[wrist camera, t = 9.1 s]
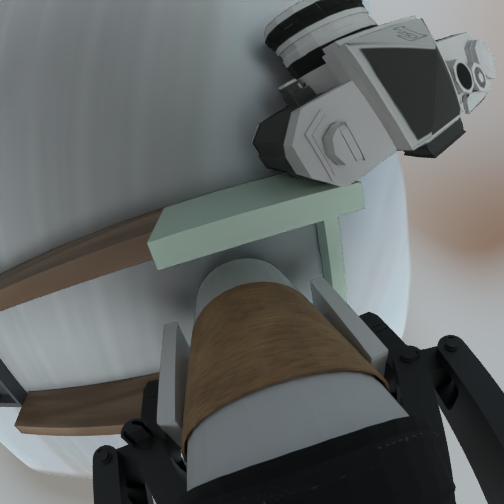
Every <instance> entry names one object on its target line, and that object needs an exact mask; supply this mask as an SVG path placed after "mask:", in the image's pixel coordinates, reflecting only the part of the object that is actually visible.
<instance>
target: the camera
mask: <svg viewBox="0 0 504 504" xmlns="http://www.w3.org/2000/svg"><path fill="white" fill-rule="evenodd" d="M264 34H265V38H266V41H265V43H266V45H267V46H268V47H269V48H272V49H273V50H274V51H275V53H276V54H277V55H278V56H280V57H282V58H283V63H284V65H285V66H286V67H287V69H288V70H289V72H290V73H291V75H292V76H293V77H294V79H293V80H291V81H289V82H287V83H285V84H284V85H282V86H281V87H279V89H280V90H279V91H280V92H281V93H282V95H283V96H284V99H285V101H286V102H287V104H288V106H287V107H285V108H284V109H282V110H280V111H279V112H277V113H275V114H274V115H272V116H271V117H269V118H267V119H266V120H264V121H262V122H260V123H259V124H257V127H256V130H255V133H254V135H253V138H252V141H251V145H252V146H253V148H254V149H255V151H256V152H257V154H258V155H259V158H260V159H261V160H262V162H263V163H264V165H265V166H266V168H269V169H274V170H279V171H284V172H289V173H290V174H291V175H292V176H295V177H299V178H303V179H307V180H311V181H315V182H319V183H323V184H327V183H330V184H334V185H337V186H341V187H344V188H346V187H347V186H349V185H350V184H352V183H353V182H355V181H356V180H358V179H359V178H360V177H362V176H363V175H364V174H366V173H367V172H369V171H370V170H371V169H373V168H374V167H375V166H377V165H378V164H380V163H381V162H382V161H384V160H385V159H386V158H388V157H389V156H391V155H392V154H393V153H395V152H396V151H401V150H402V151H404V152H405V154H404V155H407V156H414V157H424V158H425V157H427V158H436V157H437V156H438V155H439V154H441V153H442V152H443V151H444V150H446V149H447V148H448V147H449V146H450V145H451V144H453V143H454V142H455V141H456V140H457V139H458V138H460V137H461V136H462V135H463V134H464V133H465V132H466V131H464V130H463V124H462V121H461V118H460V116H461V115H462V113H463V110H462V107H461V103H462V102H463V105H464V109H465V113H466V114H469V113H470V112H471V111H472V110H473V109H474V108H475V107H477V106H478V105H479V103H481V102H482V100H483V99H484V98H485V96H486V94H487V92H488V91H489V89H490V86H491V79H494V78H495V74H496V66H495V62H494V59H493V55H492V54H491V52H490V51H489V49H488V47H487V46H486V44H485V43H483V42H481V41H479V40H475V39H474V38H473V37H472V36H470V34H469V33H467V32H465V33H461V34H456V35H451V36H449V37H445V38H443V39H439V40H434V38H433V36H432V35H431V33H430V31H429V29H428V27H427V26H426V24H425V22H424V21H423V19H422V18H421V19H416V17H415V16H410V17H407V18H403V19H400V20H396V21H393V22H389V23H386V24H382V25H379V26H378V25H377V24H376V22H375V21H374V19H372V18H370V17H369V16H368V11H367V10H366V8H365V7H364V6H363V4H362V0H303V1H301V2H299V3H297V4H295V5H293V6H291V7H290V8H288V9H287V10H285V11H284V12H283V13H281V14H280V15H278V16H277V17H276V18H274V20H273V21H272V22H271V23H270V24H269V25H268V26H267V27H266V29H265V33H264Z"/></svg>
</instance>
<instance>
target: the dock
mask: <svg viewBox="0 0 504 504" xmlns="http://www.w3.org/2000/svg"><path fill="white" fill-rule="evenodd" d="M362 209H365V206H364V197H363V189H362V182H360V181H355V182H353V183H352V184H350V185H349V186H347V187H346V188H344V187H341V186H337V185H334V184H330V183H327V184H323V183H319V182H315V181H311V180H307V179H303V178H299V177H295V176H292V175H291V174H290V173H289V172H288V173H284V174H280V175H275V176H272V177H268V178H264V179H260V180H256V181H252V182H249V183H245V184H241V185H238V186H234V187H230V188H227V189H223V190H220V191H217V192H213V193H210V194H206V195H203V196H200V197H197V198H193V199H190V200H187V201H184V202H181V203H177V204H174V205H171V206H168V207H165V208H164V209H163V211H162V213H161V215H160V217H159V219H158V221H157V223H156V225H155V227H154V229H153V232H152V234H151V236H150V238H149V240H148V242H147V244H148V247H149V249H150V252H151V255H152V257H153V260H154V262H155V265H156V267H157V270H161V269H164V268H168V267H171V266H174V265H177V264H181V263H184V262H187V261H190V260H194V259H197V258H200V257H204V256H207V255H210V254H213V253H217V252H220V251H223V250H227V249H230V248H233V247H236V246H240V245H243V244H246V243H250V242H253V241H256V240H260V239H263V238H266V237H270V236H273V235H277V234H280V233H283V232H287V231H290V230H293V229H297V228H300V227H304V226H307V225H310V224H314V223H316V227H317V234H318V240H319V246H320V253H321V260H322V267H323V275H324V279H325V280H326V281H327V282H328V283H329V284H330V285H331V286H332V288H333V289H334V290H335V291H336V292H337V293H338V294H339V295H340V296H341V297H342V298H343V300H344V301H345V302H346V303H347V298H346V285H345V273H344V262H343V253H342V244H341V235H340V227H339V220H338V216H341V215H345V214H348V213H351V212H355V211H358V210H362Z"/></svg>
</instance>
